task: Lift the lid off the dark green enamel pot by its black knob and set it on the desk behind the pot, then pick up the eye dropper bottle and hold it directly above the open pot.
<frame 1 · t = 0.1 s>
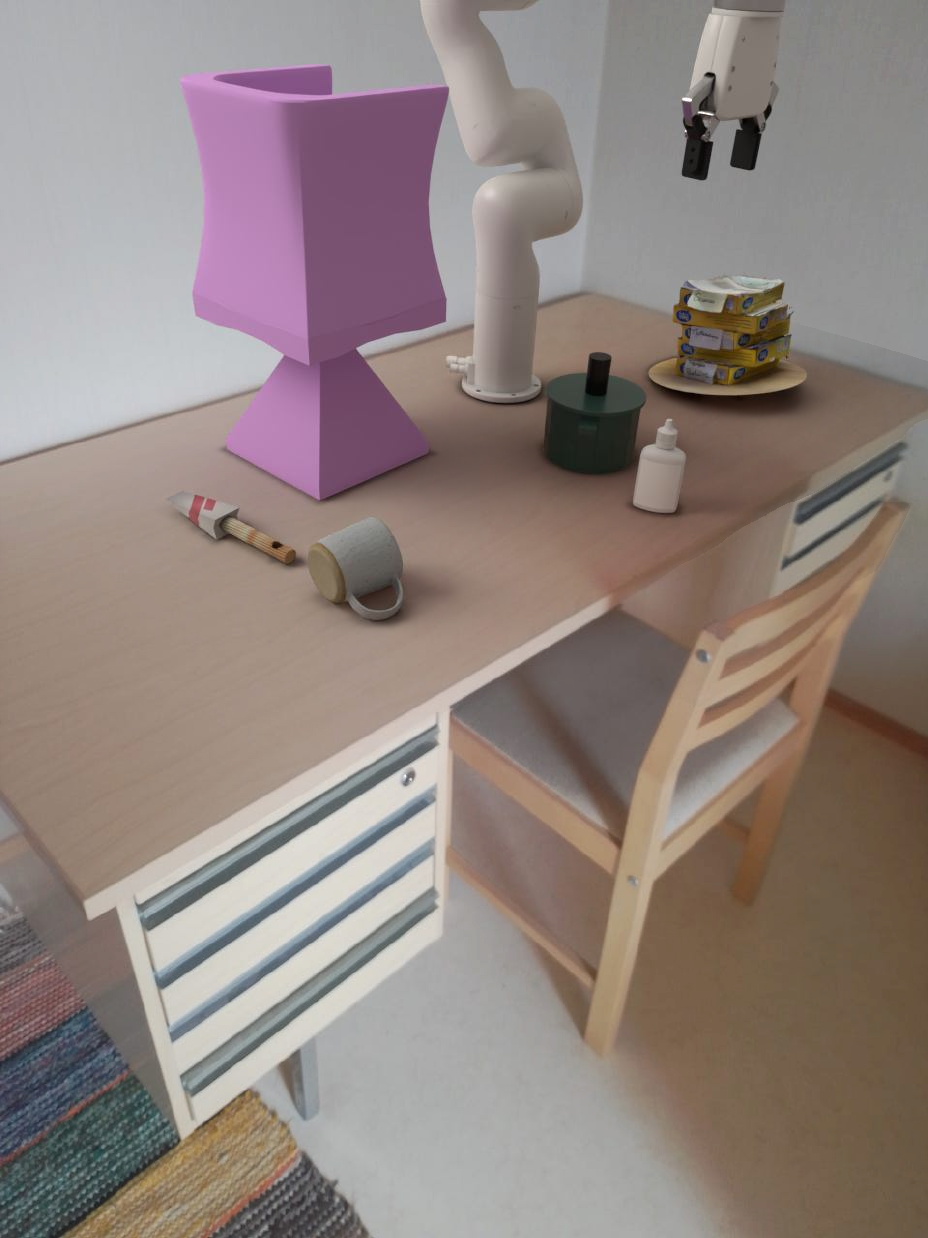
hand: (718, 172, 111), 37 cm above the table, tool pointing down, fingers open, 9 cm apart
lid: (595, 395, 129), point 8 cm above the table, touching pot
pot: (588, 452, 134), on the table
boxes on wooden plate: (723, 384, 157), on the table
eye dropper bottle: (654, 507, 123), on the table
ceramic mug: (364, 596, 104), on the table
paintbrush: (231, 535, 113), on the table
pink goblet vase: (328, 452, 132), on the table
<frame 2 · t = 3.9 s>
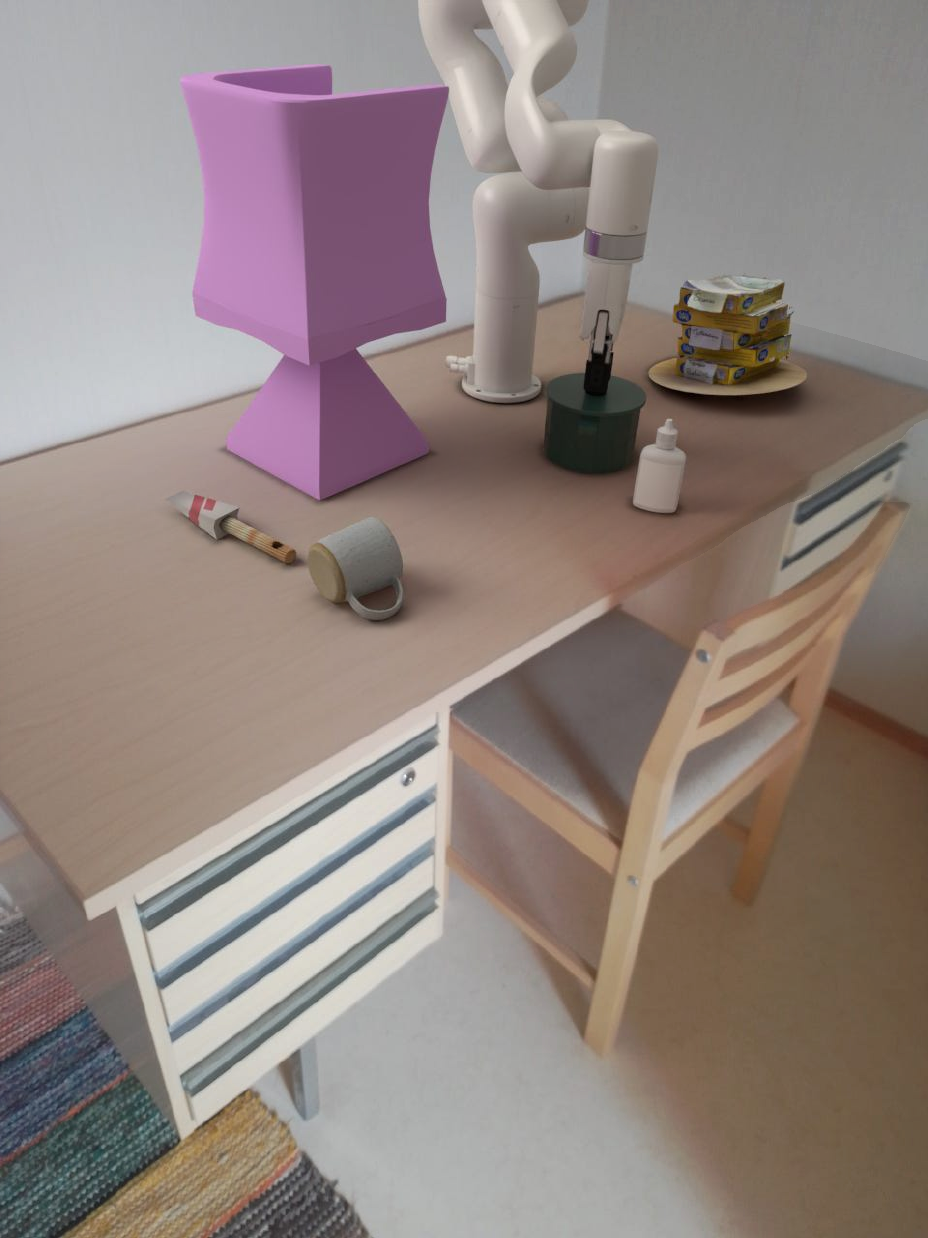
hand: (596, 383, 128), 10 cm above the table, tool pointing down, fingers closed on lid, 3 cm apart
lid: (595, 395, 129), point 9 cm above the table, touching gripper, pot
everything else where it was.
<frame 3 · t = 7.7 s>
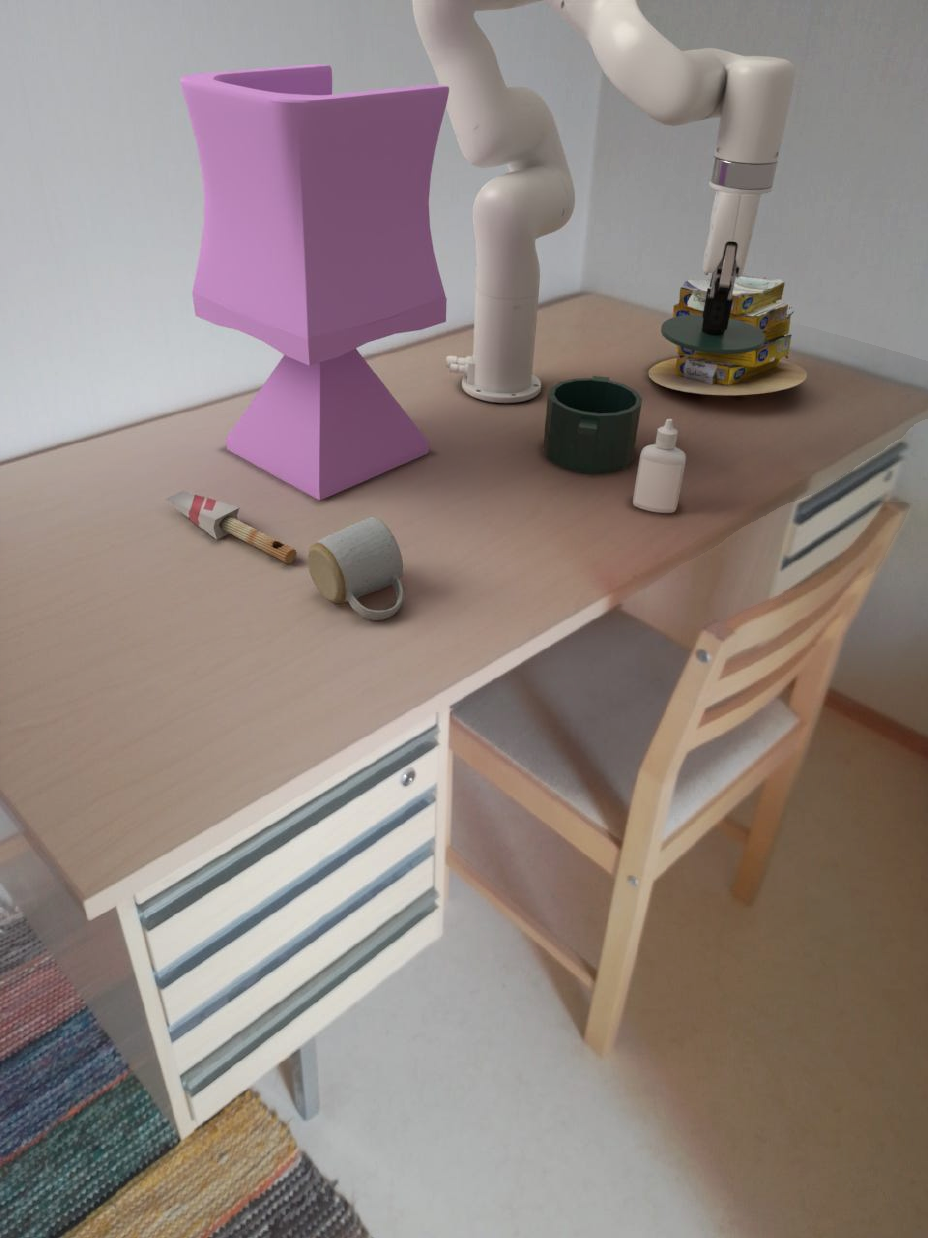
hand: (714, 323, 126), 18 cm above the table, tool pointing down, fingers closed on lid, 3 cm apart
lid: (712, 335, 127), point 16 cm above the table, touching gripper
everything else where it was.
when the fingers open (2 cm above the table, at t = 11.3 s): lid stays where it is, point 1 cm above the table.
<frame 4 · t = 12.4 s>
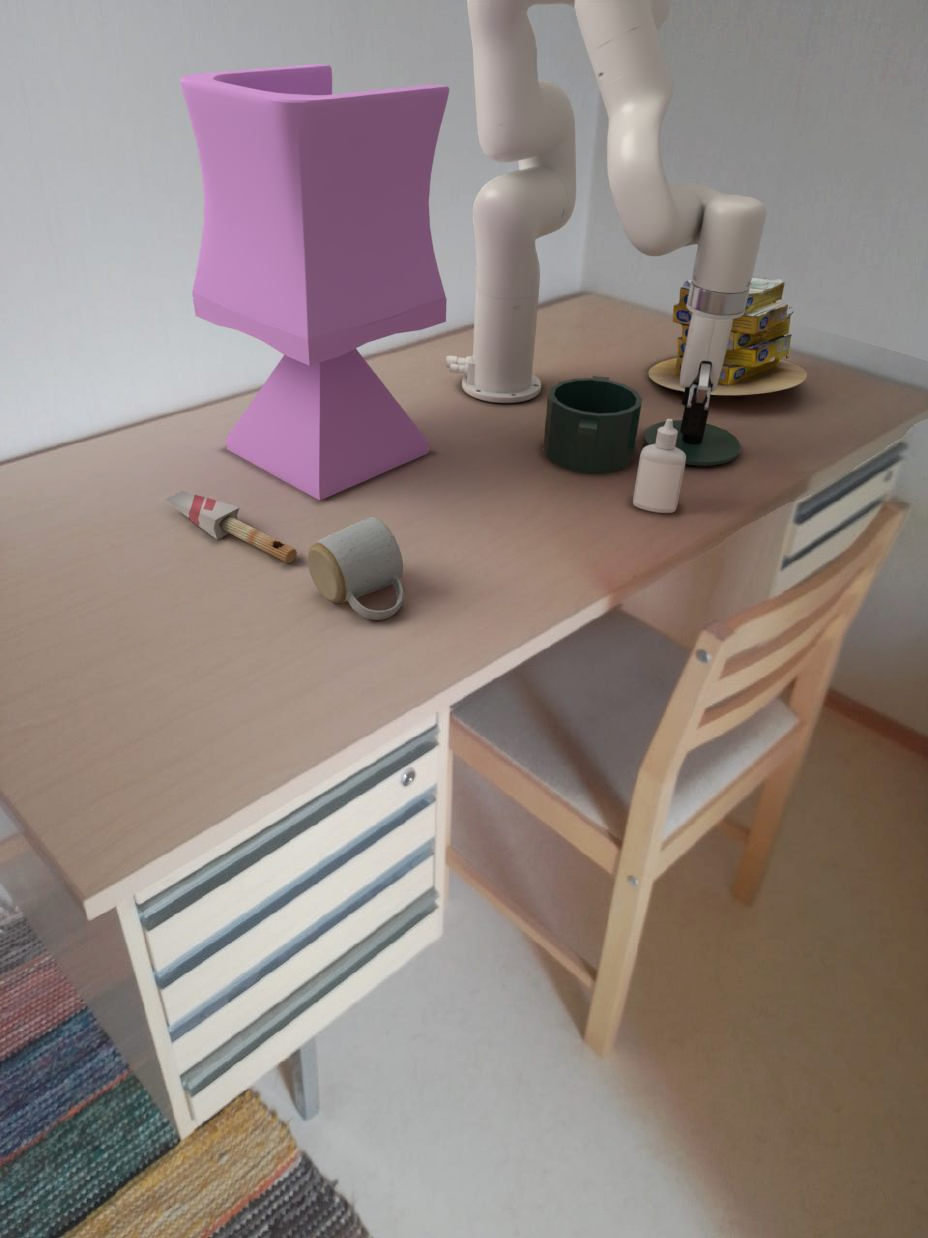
hand: (692, 419, 135), 4 cm above the table, tool pointing down, fingers open, 9 cm apart
lid: (691, 443, 137), point 1 cm above the table
everything else where it was.
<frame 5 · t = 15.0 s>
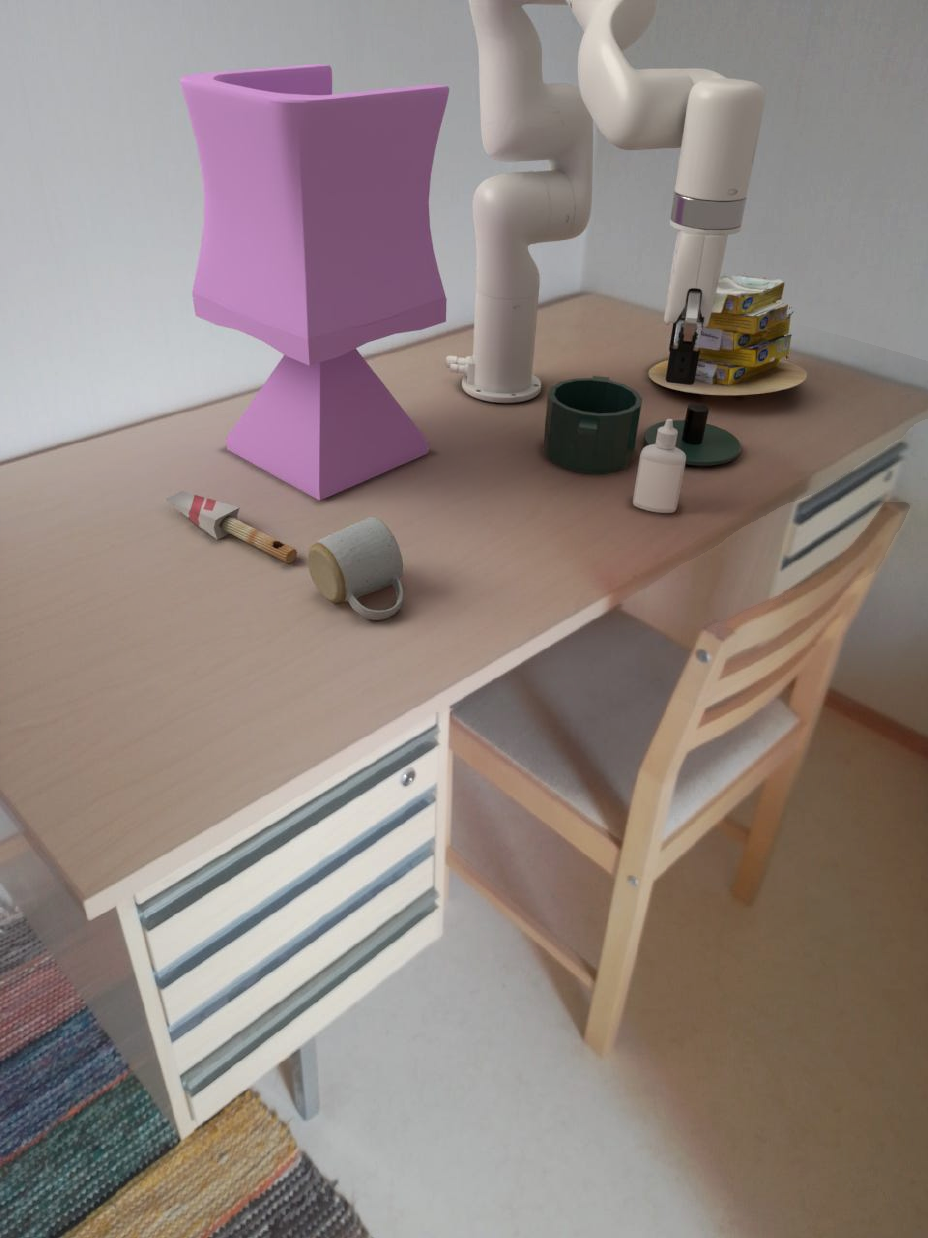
hand: (680, 367, 111), 19 cm above the table, tool pointing down, fingers open, 9 cm apart
nothing on the table moved.
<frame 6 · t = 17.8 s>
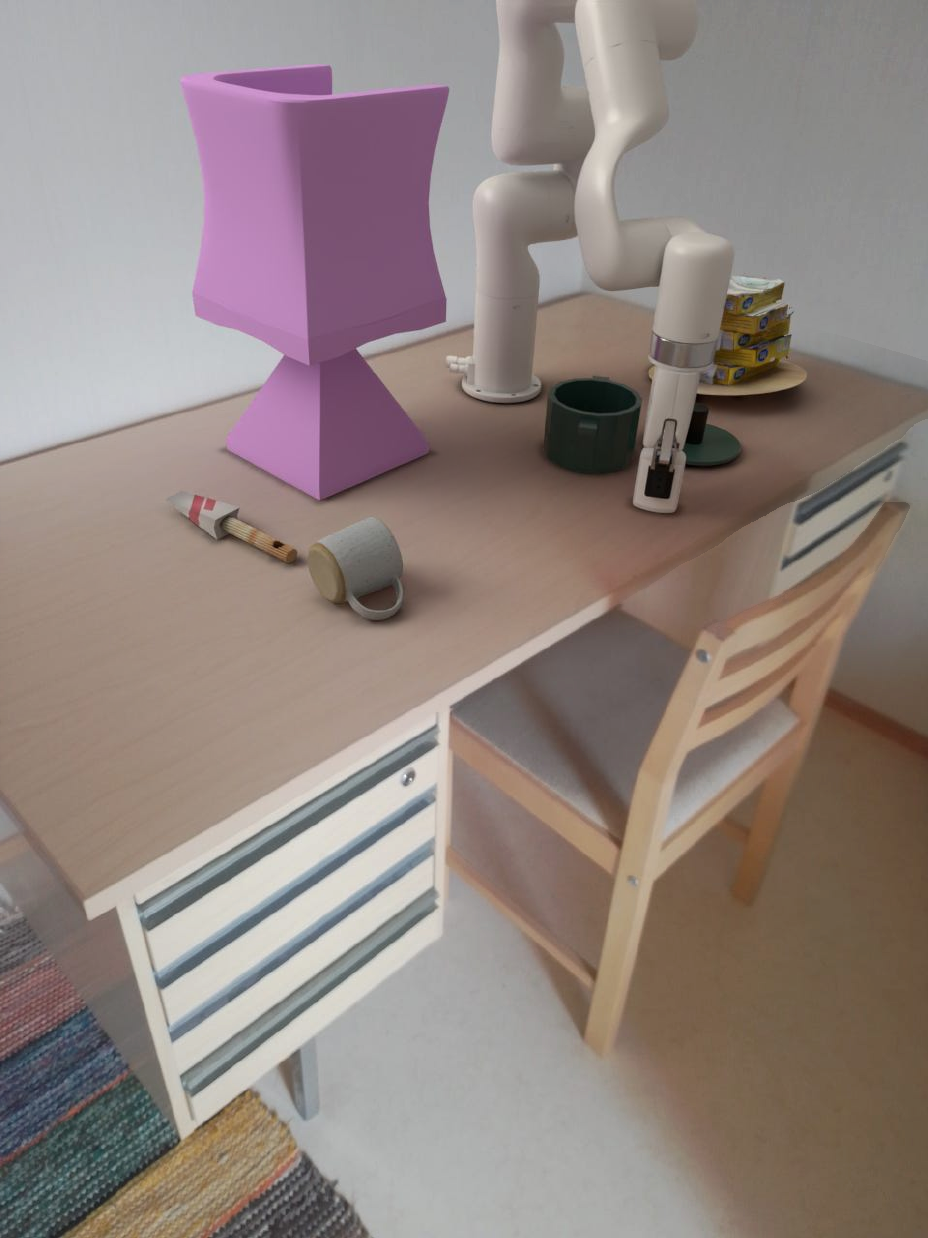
hand: (657, 487, 121), 3 cm above the table, tool pointing down, fingers closed on eye dropper bottle, 3 cm apart
eye dropper bottle: (654, 507, 123), on the table, touching gripper
everything else where it was.
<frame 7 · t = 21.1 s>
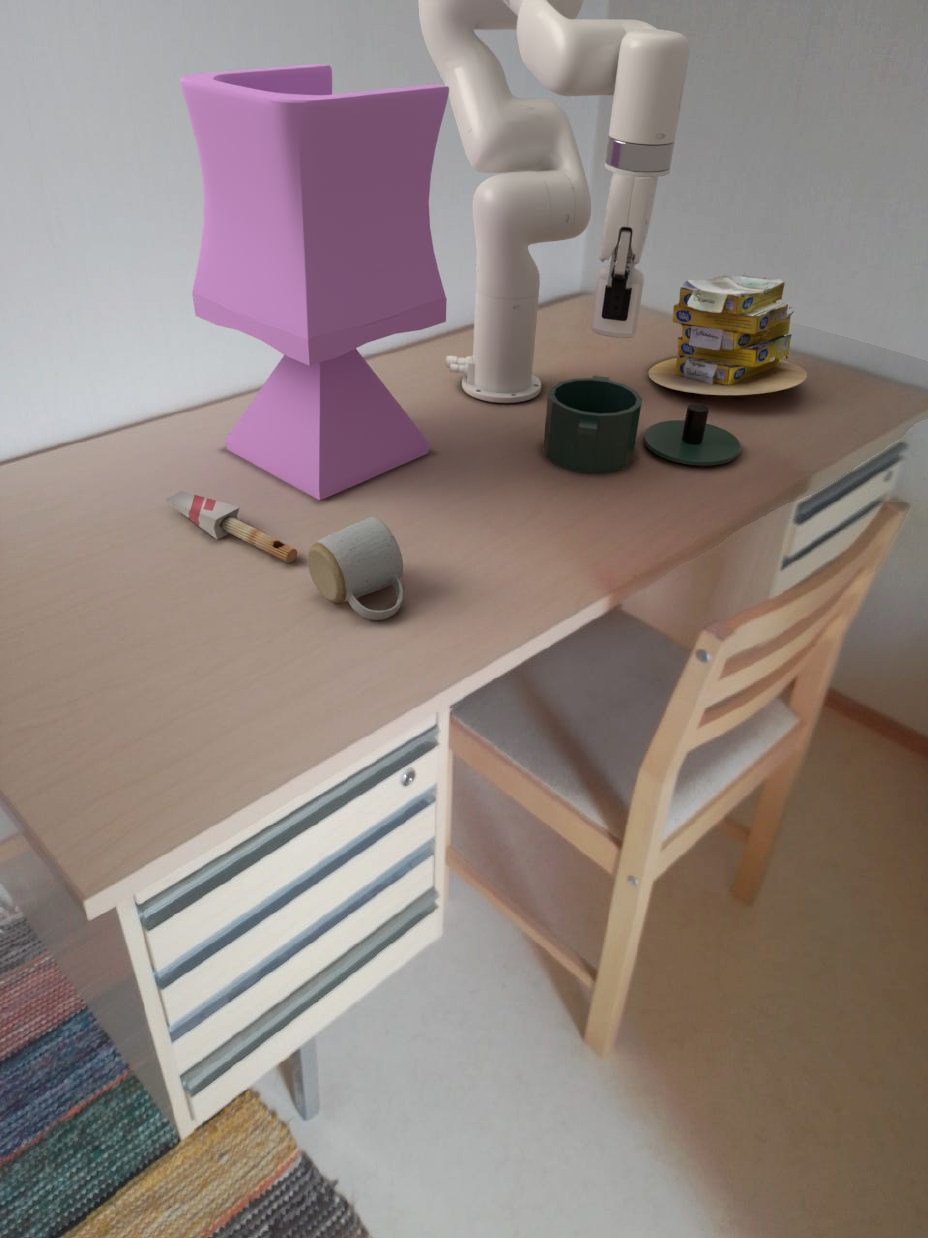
hand: (615, 311, 121), 21 cm above the table, tool pointing down, fingers closed on eye dropper bottle, 3 cm apart
eye dropper bottle: (612, 334, 122), point 18 cm above the table, touching gripper
everything else where it was.
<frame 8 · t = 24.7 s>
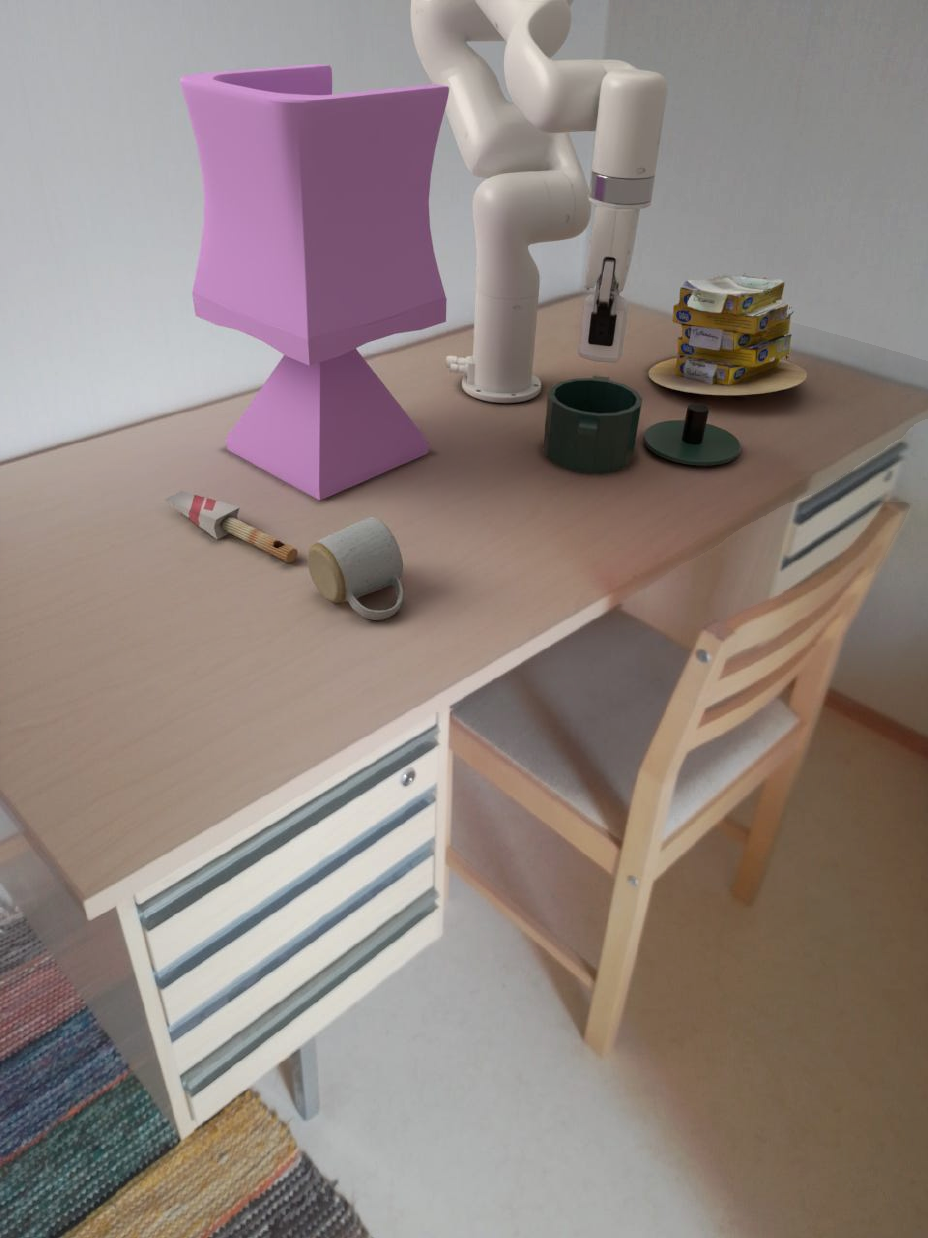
hand: (601, 337, 125), 17 cm above the table, tool pointing down, fingers closed on eye dropper bottle, 3 cm apart
eye dropper bottle: (599, 358, 127), point 14 cm above the table, touching gripper
everything else where it was.
at the end: lid inside the target area (0.2 cm from its centre), point 0.6 cm above the table; eye dropper bottle 0.1 cm off-centre on the pot, point 13.7 cm above the pot's base; the gripper is holding eye dropper bottle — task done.
